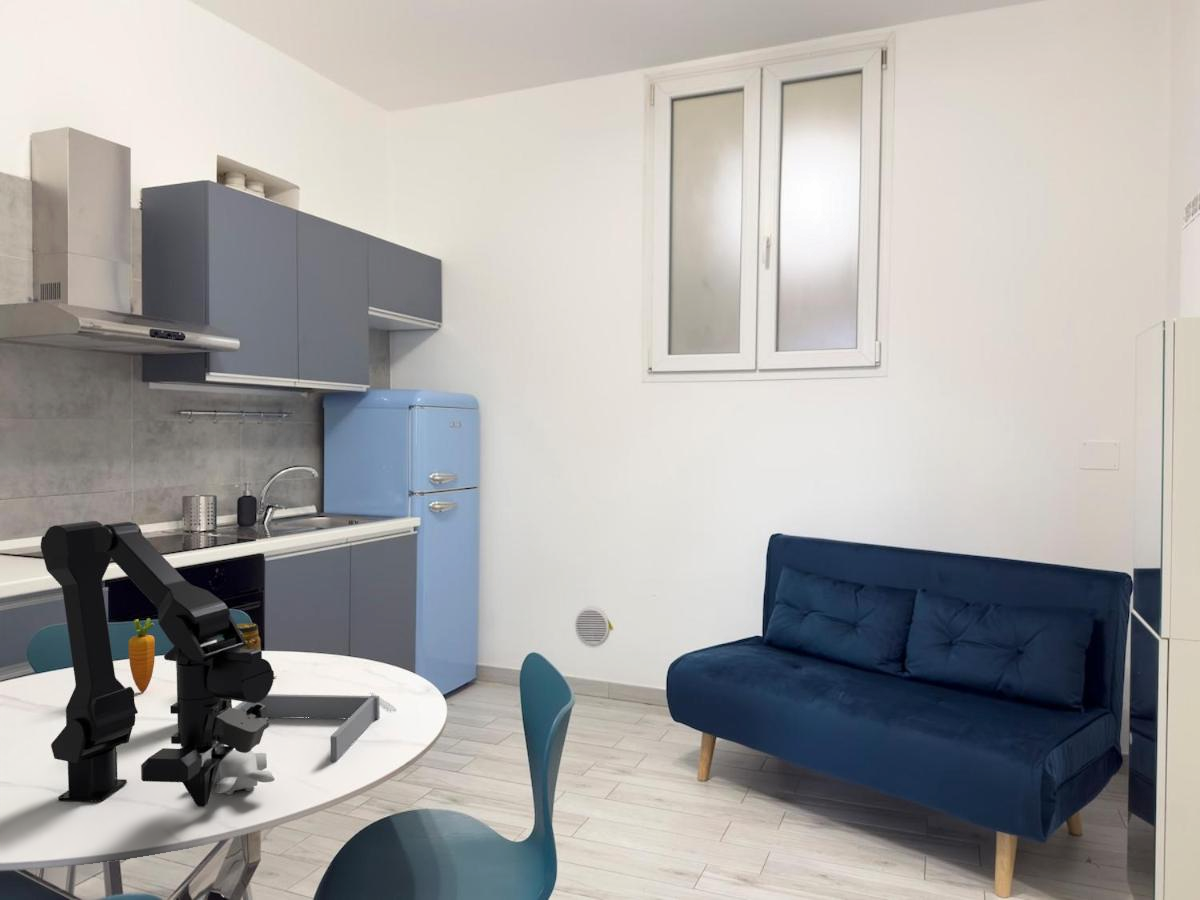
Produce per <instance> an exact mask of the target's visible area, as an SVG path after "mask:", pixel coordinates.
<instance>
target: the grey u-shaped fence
mask: <svg viewBox="0 0 1200 900" xmlns="http://www.w3.org/2000/svg"><path fill="white" fill-rule="evenodd" d="M379 697H380V695H377V696H370V695H340V694H339V695H335V694H333V695H331V694H330V695H329V694H326V695H325V694H281V693H279V694H271V693H268V695H267V696H266V697H265V698H264V699H263V700H261V701H260V702H258V703H261V704H263V705H266V709H267V716H268V717H304V718H303V719H314V718H349V719H345V720H346V721H345V720H344V722H343V723H342V724H341V725H340V726H339V727H338V728H337V729H336V730H335V731H333V732H332V734H331V735H330V737H329V738H330V762H338V761H339V760H340V759H341V758H342V757H343V756H344V754H345V753H346V752H347V751H348V750H349V749H350V748H351V747H352V745H353V744H354V743H355V742H356V741H357V740H358V739H359V738H360V737H361V736H362V735H361V734H364V732H365V731H366V730H367V729H369V727H370V726H371V725H370V724H371V723H372V722H373V723H374V721H376V720H375V719H378V720H379V719H380V718H381V717H380V713H381V712H380V711H381V710H380V707H381V706H380V705H379ZM254 704H255V703H250V702H243V701H240V703H239V704H238V705H236V706H234V707H233V708H234V709H237V710H241V709H242V708H244V709H245V711H247V710H248V709H249V708H250V707H251V706H253V705H254ZM305 717H307V718H305ZM308 717H309V718H308ZM373 723H372V724H373ZM369 725H370V726H369ZM368 726H369V727H368ZM365 729H366V730H365ZM364 730H365V731H364ZM360 735H361V736H360ZM359 736H360V737H359ZM358 737H359V738H358ZM357 738H358V739H357ZM356 739H357V740H356ZM355 740H356V741H355ZM354 741H355V742H354ZM352 743H353V744H352ZM351 744H352V745H351ZM350 746H351V747H350ZM349 747H350V748H349ZM348 748H349V749H348ZM347 749H348V750H347ZM346 750H347V751H346ZM345 751H346V752H345ZM343 753H344V754H343ZM339 758H340V759H339ZM338 759H339V760H338ZM337 760H338V761H337Z"/></svg>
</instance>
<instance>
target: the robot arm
mask: <svg viewBox="0 0 1200 900" xmlns="http://www.w3.org/2000/svg"><path fill="white" fill-rule="evenodd" d="M40 540H41V541H40V550H41V553H42V557H43V560H44V564H45V569H46V571H47V572H48V573H49V574H50V575H51V577H53V579H55V581H56V582H57V583H58V584H59V585H60V587H61V589H62V596H63V602H64V610H65V615H66V624H67V632H68V639H69V645H70V653H71V661H72V667H73V676H74V683H75V687H74V689H73V691H72V693H71V696H70V697H69V698H70V699H69V701H68V703H67V704H66V707H65V726H64V728H63V729H62V730H61V731H60V732H59V734H58V735H57V736H56V738H55V739H54V740H53V741H52V743H51V744H50V747H51V750H52V751H51V752H52V756H53V757H54V759H55V760H60V761H64V762H67V781H68V783H67V784H68V790H66V791H64V792H63V793H61V794H60V795H59V796H58V797H57V798H58V801H60V802H61V801H64V802H65V801H68V802H69V801H70V802H73V801H74V802H101V801H103V800H106V799H107V798H108V797H109V796H111V795H112V794H114V793H115V792H117V791H118V790H120V789H121V788H122V787H123V786H125V785H126V784H128V780H127V779H125V778H122V779H121V778H119V779H118V752H117V747H118V746H120V745H121V746H122V745H123V744H124V745H125V744H127V743H130V742H129V741H130V739H131V735H132V731H133V727H134V726H135V724H136V715H137V714H138V713H139V711H138V709H137V707H136V703H135V691H134V689H133V687H131V686H128V687H127V686H126V687H125V686H124V685H123V684H122V683H121V681H119V680H118V679H117V677H116V672H115V667H114V659H113V651H112V644H111V637H110V630H109V624H108V617H107V609H106V601H105V595H104V589H103V587H104V586H103V578H104V576H105V574H106V572H107V570H108V567H109V565H110V563H111V561H113V562H114V563H115V564H116V565H117V566H118V567H119V568H120V569H121V570H122V572H123V573H124V574H125V575H126V576H127V577H128V578H129V579H130V580H131V581H132V582H133V584H134V585H136V587H137V588H138V589H139V590H140V591H141V592H142V593H143V594H144V596H146V597H147V598H148V599H149V601H150V602H151V603H152V604H153V605H154V607H155V608H156V610H157V619H158V625H159V628H161V629H162V631H163V632H164V634H165V636H166V638H167V639H168V640H169V642H170V643H171V644H172V645H173V647H172V648H171V649H170V650H169V651H168V652H166V653H165V654H164V656H163V658H164V660H166V661H171V662H175V667H176V666H177V670H176V702H175V703H172V705H170V706H169V707H170V714H173V715H175V714H176V715H177V732H175V733H174V734H173V735H171V736H170V743H171V744H172V745H180V748H168V747H167V748H166V747H165V748H160V750H158V751H157V752H155V753H154V754H153V755H150V756H149V757H148V758H147V759H145V761H144V762H143V763H141V764H140V772H141V773H140V776H141V777H140V779H141V781H142V782H150V783H151V782H153V783H155V782H156V783H157V782H158V783H182V784H183V786H184V787H185V789H186V791H187V792H188V794H189V796H190V797H191V799H192V801H194V804H195V805H196V807H198V808H205V807H206V806H207V805H208V804H209V801H210V797H211V794H212V790H213V787H214V784H215V783H214V780H215V777H216V773H217V770H218V767H219V764H220V762H221V761H222V760H223V759H224V758H225V757H226V756H227V755H228V754H229V753H230V752H231V751H232V750H236V751H238V752H241V753H247V752H249V751H252V749H253V748H254V747H256V746H258V745H259V744H260V743H261V741H262V737H263V736H264V735H263V734H264V731H265V730H267V729H268V728H269V727H270V723H269V719H270V718H268V716H267V709H266V705H263V704H261V703H258V702H260V701H261V700H263V699H264V698H265V697H266V696H267V695H268V694H270V692H271V689H272V686H273V683H274V680H275V679H274V678H275V677H274V676H275V673H274V670H273V668H272V665H271V663H270V661H268V660H267V659H264V658H263V651H262V650H260V649H250V650H248V649H241V648H244V647H246V646H247V643H246V641H245V640H244V638H243V636H242V635H243V634H242V633H241V632H240V630H239V629H238V627H237V624H236V622H235V620H234V618H233V617H232V615H231V611H230V609H229V608H228V606H227V604H226V603H225V602H224V601H223V600H221V599H220V598H218V596H216V595H214V594H213V593H212V592H210V591H209V590H207V589H204V588H201V587H199V586H195V585H193V584H191V583H190V582H188V581H187V580H186V579H185V578H184V577H183V576H182V575H181V574H180V573H179V572H178V571H177V569H175V567H174V566H173V565H171V563H170V562H169V561H168V560H167V559H166V558H165V557H164V556H163V554H161V552H159V551H158V549H156V548H155V546H154V545H153V544H152V543H151V542H150V541H149V540H148V539H147V538H146V537H145V536H144V535H143V532H142V530H141V527H140V525H138V524H137V523H135V522H131V521H124V522H123V521H122V522H121V521H120V522H112V523H108V524H102V523H101V522H99V521H97V520H89V521H88V520H87V521H81V522H73V523H71V522H70V523H64V524H56V525H53V526H49V527H48V529H47V530H46V532H45V534H44V535H42V537H41V539H40ZM221 639H222V640H221ZM214 640H217V642H215V643H212V644H209V645H206V646H203V647H201V646H200V645H202V644H205V643H208V642H211V641H214ZM218 640H219V641H218ZM232 701H238V702H250V703H255V704H254V705H253V706H251V707H250V708H249V709H248V710H247V711H245V709H244V708H242V709H241V710H237V709H234V707H233V706H232V705H233V704H232Z"/></svg>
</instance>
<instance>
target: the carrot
mask: <svg viewBox="0 0 1200 900" xmlns="http://www.w3.org/2000/svg"><path fill="white" fill-rule="evenodd" d="M133 624H134V628H135V631H136V633H137V635H134V636H132V637H131V638H130V639H128V658H129V667H130V672H131V677H132V679H133V682H134V684H135V686H136V687H137V689H138V691H140V692H141V693H145V691H147V688H148V687H149V685H150V682H151V679H152V678H153V672H154V667H155V654H156V653H155V652H156V650H155V649H156V648H155V647H156V644H155V643H156V641H155V637H154V636H153V635H150V634H147V633H148V631H149V630H150V629H151V628H152V627H153V626H155V624H154V622H151V618H149V617H148V618H146V620H145V623H144V626H142V625H141V624H140V620H139V618H137V619H134V620H133Z"/></svg>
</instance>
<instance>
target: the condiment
mask: <svg viewBox="0 0 1200 900" xmlns="http://www.w3.org/2000/svg"><path fill="white" fill-rule="evenodd" d="M236 625H237V627H238V629H239V630H240V632H241V633H242V634H243V635H242V636H243V638H244V640H245V641H246V643H247V646H246V647H244V648H241V649H248V650H250V649H260V650H261V647H262V646H261V637H260V636H259V626H258V624H257V623H253V622H251V623H250V622H246V623H238V624H236ZM261 651H262V650H261ZM277 677H278V675H274V678H277Z"/></svg>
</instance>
